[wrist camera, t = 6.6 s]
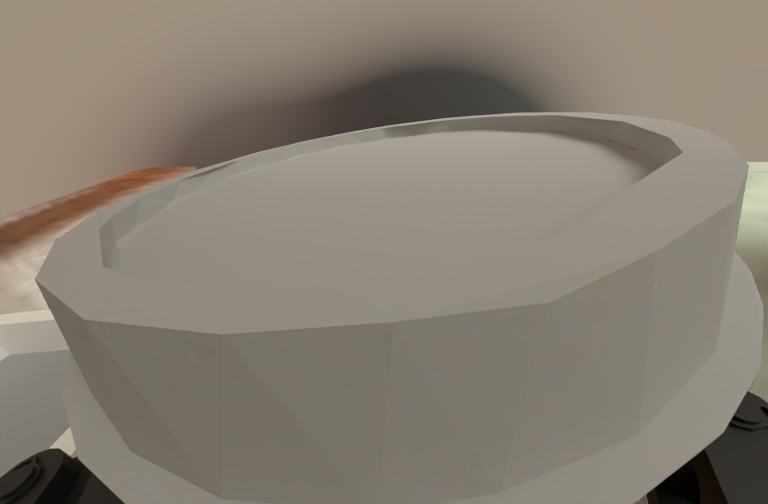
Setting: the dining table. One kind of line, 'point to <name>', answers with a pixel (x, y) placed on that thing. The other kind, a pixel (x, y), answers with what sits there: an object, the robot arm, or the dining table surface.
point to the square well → (32, 387)
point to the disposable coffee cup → (415, 317)
